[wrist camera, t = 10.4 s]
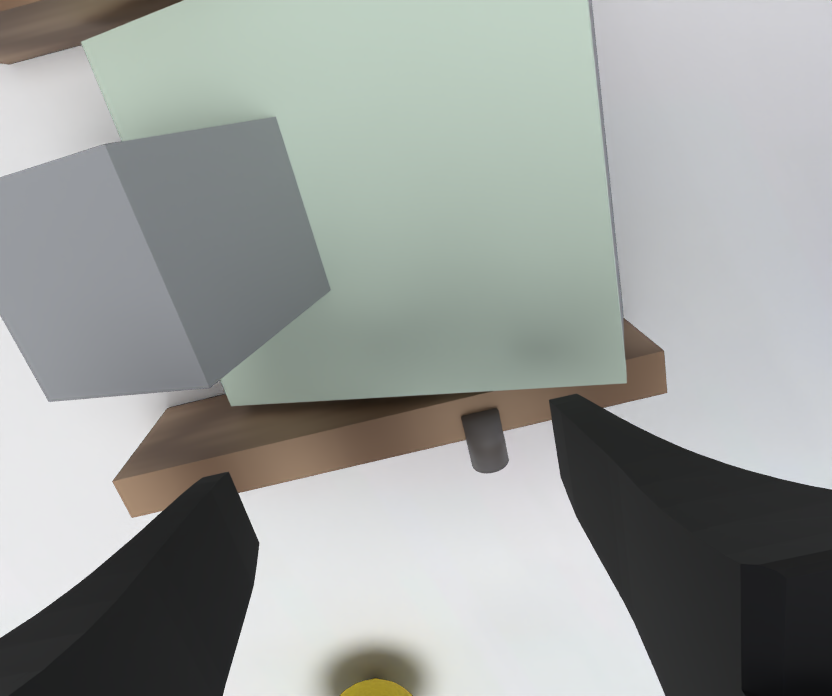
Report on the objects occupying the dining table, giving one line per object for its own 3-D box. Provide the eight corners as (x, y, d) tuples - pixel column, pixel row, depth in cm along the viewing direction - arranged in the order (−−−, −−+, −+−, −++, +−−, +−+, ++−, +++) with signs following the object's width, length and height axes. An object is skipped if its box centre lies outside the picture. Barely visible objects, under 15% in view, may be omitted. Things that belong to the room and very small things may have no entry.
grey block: (275, 116, 15) (104, 144, 10) (330, 290, 17) (209, 387, 12) (138, 157, 17) (-66, 198, 12) (201, 310, 19) (48, 401, 14)
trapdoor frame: (550, -182, 16) (631, -330, 11) (611, 357, 23) (680, 429, 18) (-32, -22, 17) (-222, -87, 12) (190, 457, 24) (133, 555, 18)
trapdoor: (580, -105, 14) (571, -156, 11) (624, 325, 19) (626, 383, 15) (174, 45, 19) (80, 41, 16) (285, 356, 24) (231, 406, 20)
